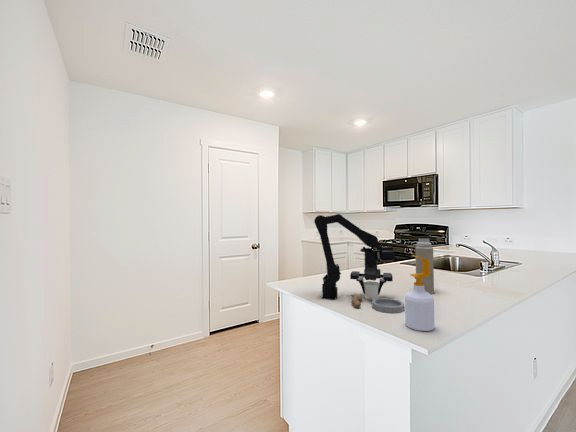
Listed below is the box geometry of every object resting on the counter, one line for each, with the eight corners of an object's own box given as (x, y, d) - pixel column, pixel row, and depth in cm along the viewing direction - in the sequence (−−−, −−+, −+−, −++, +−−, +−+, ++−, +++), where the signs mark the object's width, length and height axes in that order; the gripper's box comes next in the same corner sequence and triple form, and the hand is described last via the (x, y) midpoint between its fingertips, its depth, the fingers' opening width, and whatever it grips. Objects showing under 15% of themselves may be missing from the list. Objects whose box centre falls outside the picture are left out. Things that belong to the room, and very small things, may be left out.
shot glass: (380, 300, 123) (379, 284, 124) (364, 299, 125) (364, 284, 125) (378, 295, 130) (377, 281, 130) (363, 295, 132) (363, 280, 132)
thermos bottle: (417, 289, 141) (416, 235, 141) (434, 291, 137) (433, 235, 137) (415, 293, 134) (414, 236, 134) (433, 295, 130) (432, 236, 130)
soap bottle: (400, 322, 98) (399, 253, 98) (424, 320, 98) (423, 253, 99) (414, 332, 89) (412, 257, 89) (440, 331, 90) (439, 256, 90)
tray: (371, 311, 109) (371, 305, 109) (372, 302, 121) (372, 297, 121) (405, 314, 105) (405, 308, 105) (402, 304, 117) (402, 299, 117)
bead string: (360, 309, 112) (360, 301, 112) (350, 308, 113) (350, 300, 113) (362, 300, 123) (362, 294, 123) (353, 300, 124) (352, 293, 124)
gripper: (348, 263, 123) (349, 297, 123) (392, 265, 117) (393, 301, 117) (351, 259, 134) (351, 291, 133) (391, 261, 127) (392, 294, 127)
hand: (371, 294), depth 128 cm, fingers closed on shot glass, 6 cm apart
